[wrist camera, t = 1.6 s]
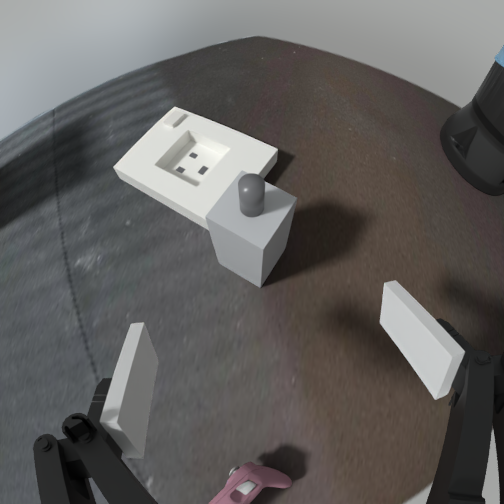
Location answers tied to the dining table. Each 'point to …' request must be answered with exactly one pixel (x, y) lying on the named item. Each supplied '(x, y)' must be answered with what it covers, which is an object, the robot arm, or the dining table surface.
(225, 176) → the socket plate
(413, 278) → the dining table surface
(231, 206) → the plug
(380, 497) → the dining table surface
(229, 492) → the video game controller
